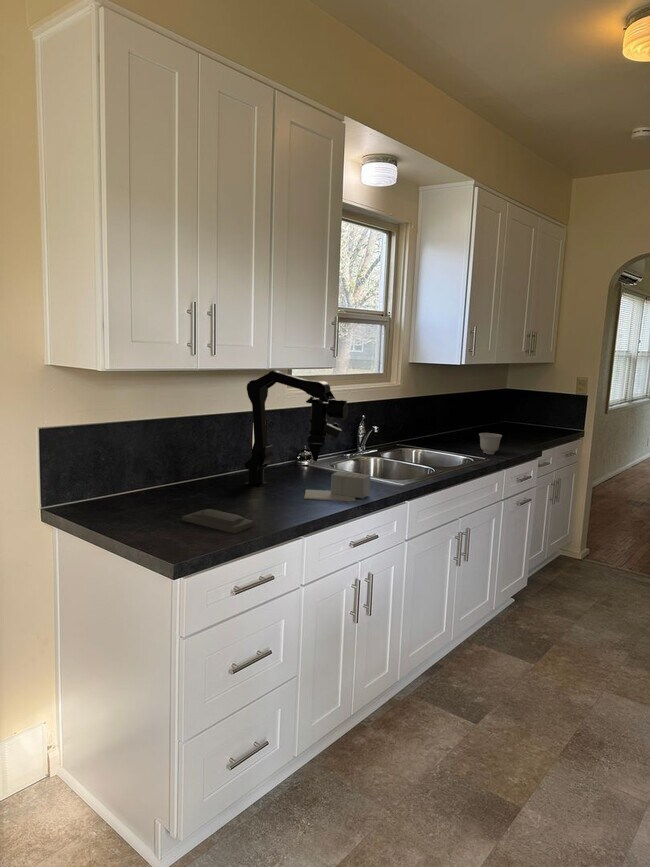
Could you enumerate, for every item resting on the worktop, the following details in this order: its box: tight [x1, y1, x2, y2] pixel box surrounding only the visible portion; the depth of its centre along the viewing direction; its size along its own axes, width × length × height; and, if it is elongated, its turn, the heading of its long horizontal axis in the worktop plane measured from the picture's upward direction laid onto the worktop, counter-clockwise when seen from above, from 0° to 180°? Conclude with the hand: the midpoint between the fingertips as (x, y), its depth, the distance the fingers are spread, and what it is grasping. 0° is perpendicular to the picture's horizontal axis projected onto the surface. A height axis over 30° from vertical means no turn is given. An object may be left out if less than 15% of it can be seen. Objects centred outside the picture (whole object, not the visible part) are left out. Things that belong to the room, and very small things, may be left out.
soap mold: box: [181, 508, 256, 534], centre depth 196 cm, size 10×20×4 cm, turn 59°
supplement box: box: [330, 470, 371, 499], centre depth 237 cm, size 7×7×13 cm
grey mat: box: [303, 489, 356, 502], centre depth 235 cm, size 18×12×1 cm, turn 89°
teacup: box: [478, 432, 503, 455], centre depth 343 cm, size 12×15×10 cm
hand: (316, 458), depth 238 cm, fingers open, 9 cm apart
